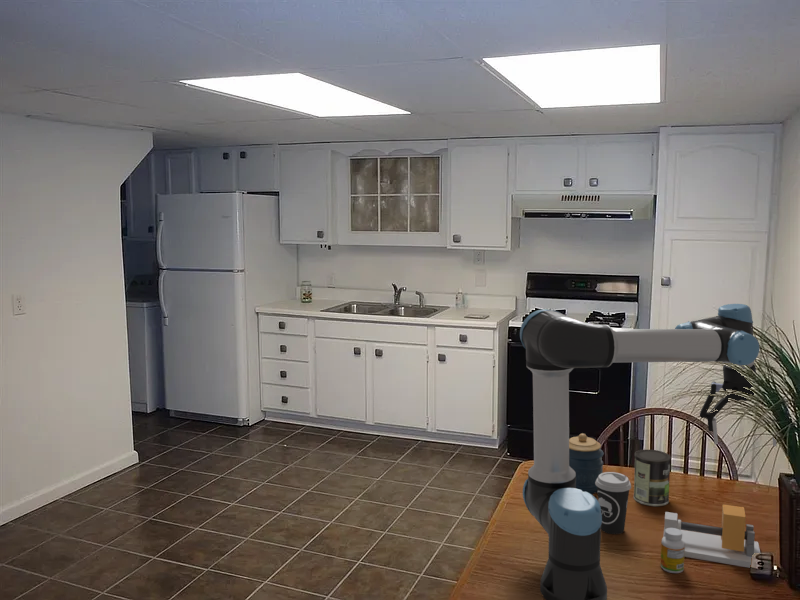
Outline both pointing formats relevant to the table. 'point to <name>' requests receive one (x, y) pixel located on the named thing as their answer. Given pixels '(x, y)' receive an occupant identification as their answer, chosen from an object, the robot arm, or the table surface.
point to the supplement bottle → (672, 551)
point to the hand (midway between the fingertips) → (744, 443)
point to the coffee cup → (613, 501)
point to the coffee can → (652, 477)
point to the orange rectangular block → (733, 527)
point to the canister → (585, 462)
